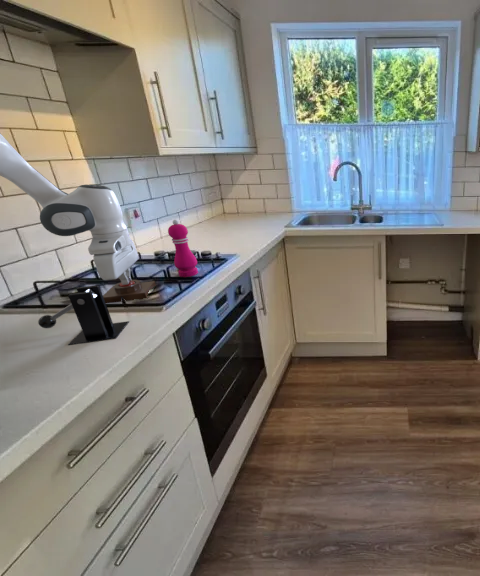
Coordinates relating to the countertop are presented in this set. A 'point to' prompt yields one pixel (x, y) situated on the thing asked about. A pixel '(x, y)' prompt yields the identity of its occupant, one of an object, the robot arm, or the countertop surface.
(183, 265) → the pepper mill
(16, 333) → the countertop surface
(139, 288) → the button block
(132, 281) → the button
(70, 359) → the countertop surface
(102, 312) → the bracket
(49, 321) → the lever
